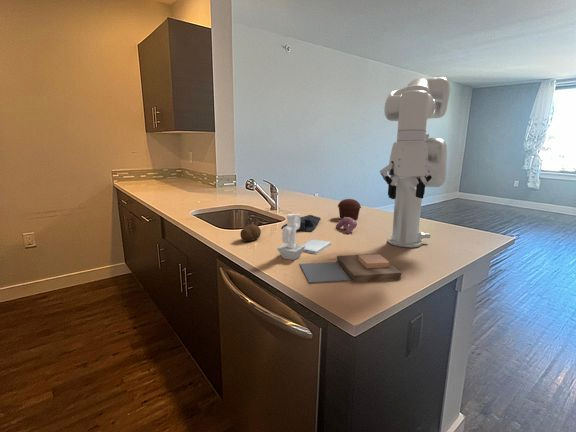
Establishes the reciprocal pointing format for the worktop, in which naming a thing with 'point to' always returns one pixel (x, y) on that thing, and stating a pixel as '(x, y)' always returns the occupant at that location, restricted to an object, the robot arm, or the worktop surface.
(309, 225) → the dark slate chunk
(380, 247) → the worktop surface
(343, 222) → the purple crystal rock
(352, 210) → the muffin
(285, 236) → the figurine
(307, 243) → the hard drive
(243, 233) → the potato
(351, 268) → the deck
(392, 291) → the worktop surface
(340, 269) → the mat
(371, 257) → the tile
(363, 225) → the worktop surface
